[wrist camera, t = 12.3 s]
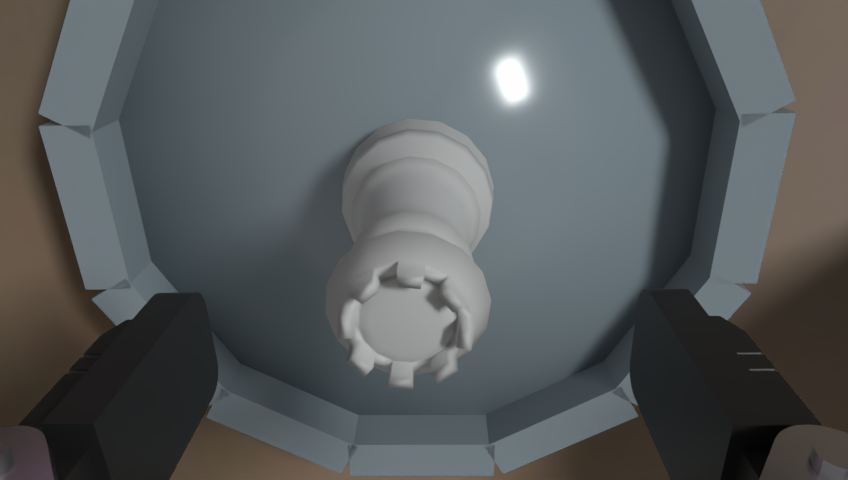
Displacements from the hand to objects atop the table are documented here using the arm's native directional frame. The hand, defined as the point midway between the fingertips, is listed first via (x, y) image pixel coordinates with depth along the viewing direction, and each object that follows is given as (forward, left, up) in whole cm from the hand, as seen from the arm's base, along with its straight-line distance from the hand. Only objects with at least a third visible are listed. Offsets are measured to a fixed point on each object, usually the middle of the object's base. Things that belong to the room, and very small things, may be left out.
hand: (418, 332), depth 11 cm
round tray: (0, 0, -9) cm, 9 cm away
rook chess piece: (0, 0, -8) cm, 8 cm away
